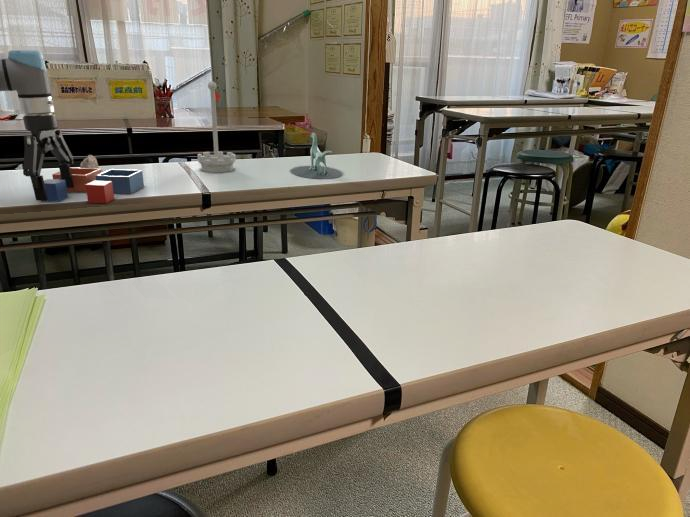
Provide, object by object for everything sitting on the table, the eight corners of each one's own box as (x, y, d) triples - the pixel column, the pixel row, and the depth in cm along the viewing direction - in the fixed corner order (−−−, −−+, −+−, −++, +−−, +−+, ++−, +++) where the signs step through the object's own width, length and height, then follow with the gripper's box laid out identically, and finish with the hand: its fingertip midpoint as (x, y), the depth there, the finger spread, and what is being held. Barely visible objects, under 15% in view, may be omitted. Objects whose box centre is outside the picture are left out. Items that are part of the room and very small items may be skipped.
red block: (87, 202, 139) (85, 184, 137) (96, 198, 144) (94, 180, 142) (106, 203, 139) (103, 185, 137) (114, 198, 144) (112, 181, 142)
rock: (89, 183, 159) (85, 160, 157) (78, 175, 170) (74, 153, 167) (109, 181, 163) (105, 158, 160) (97, 173, 173) (94, 152, 171)
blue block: (40, 201, 139) (36, 183, 137) (50, 196, 144) (47, 179, 142) (58, 201, 139) (55, 183, 137) (68, 197, 144) (65, 179, 142)
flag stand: (224, 174, 177) (218, 82, 166) (191, 171, 181) (184, 81, 170) (242, 167, 189) (238, 81, 178) (211, 164, 192) (205, 80, 182)
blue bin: (97, 193, 149) (95, 175, 147) (112, 185, 158) (110, 169, 156) (131, 194, 149) (128, 176, 147) (144, 186, 158) (142, 170, 156)
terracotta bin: (55, 191, 149) (52, 174, 147) (72, 184, 158) (69, 167, 156) (88, 192, 149) (85, 175, 147) (103, 185, 158) (101, 168, 156)
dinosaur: (353, 178, 177) (354, 139, 172) (304, 181, 170) (304, 141, 166) (328, 164, 198) (328, 130, 194) (283, 167, 192) (283, 131, 187)
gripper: (24, 120, 122) (44, 206, 129) (77, 109, 145) (90, 183, 153) (-7, 120, 122) (14, 206, 129) (50, 109, 145) (65, 183, 153)
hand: (56, 194), depth 141 cm, fingers open, 13 cm apart
